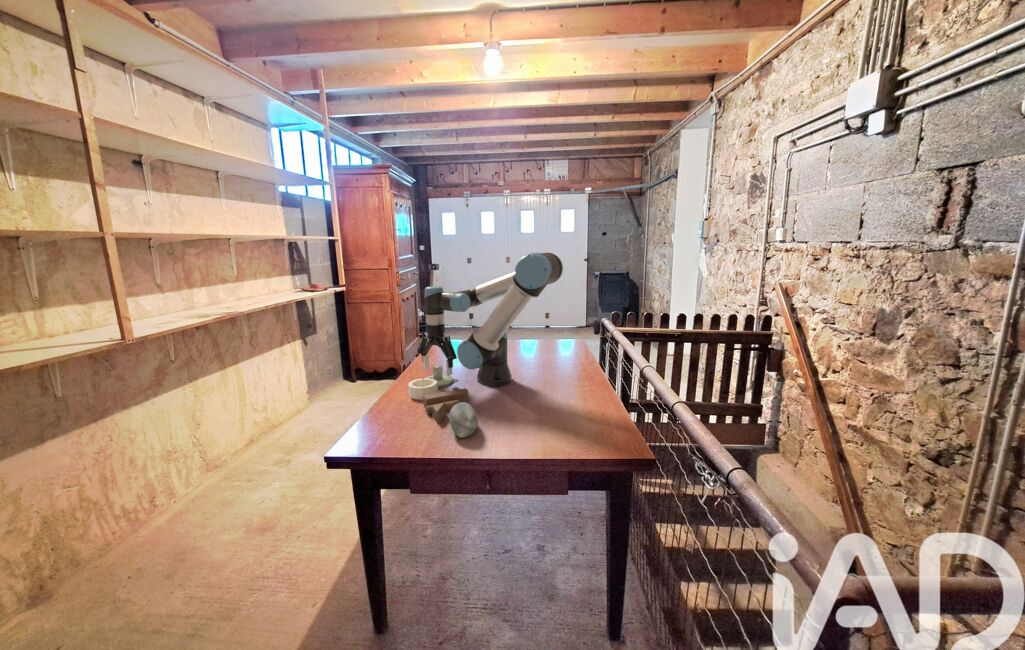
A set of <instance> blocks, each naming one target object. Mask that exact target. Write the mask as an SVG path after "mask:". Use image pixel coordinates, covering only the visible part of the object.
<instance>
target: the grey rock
mask: <svg viewBox="0 0 1025 650" xmlns="http://www.w3.org/2000/svg"><path fill="white" fill-rule="evenodd" d="M448 418H449V424H450V428H451V429H452V432H453V433H454V434H455V435H456V437H458V438H462V439H464V438H465V439H466V438H468V437H470V436H472V434H474V432H475V431H476V430H477V429H478V425H479V419H478V414H477V412H476V411H475V409H474V408H473V406H472V405H471V404H470V403H468V402H460V403H458V404H456V405H455V406H453V408H452V409H451V410H450V411H449V415H448Z"/></svg>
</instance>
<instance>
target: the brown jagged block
mask: <svg viewBox="0 0 1025 650" xmlns="http://www.w3.org/2000/svg"><path fill="white" fill-rule="evenodd" d="M468 400H469V390H468V389H467V388H460V389H454V390H449V391H441V392H438V393H435V394H429V395H424V396H423V399H422V401H423V408H424V409H425V412H426V415H427V416H431V415H432V419H433V420H434V421H435V422H436V424H439V423H441V421H442V420H443V419H444V418H445V417H446V416H447V412H450V410H451V409H452V408H453V406H455V405H456V404H458V403H460V402H465V403H467V401H468Z"/></svg>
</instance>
